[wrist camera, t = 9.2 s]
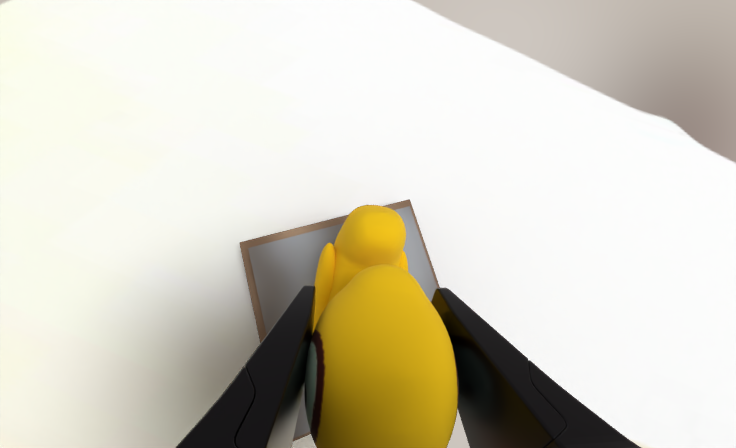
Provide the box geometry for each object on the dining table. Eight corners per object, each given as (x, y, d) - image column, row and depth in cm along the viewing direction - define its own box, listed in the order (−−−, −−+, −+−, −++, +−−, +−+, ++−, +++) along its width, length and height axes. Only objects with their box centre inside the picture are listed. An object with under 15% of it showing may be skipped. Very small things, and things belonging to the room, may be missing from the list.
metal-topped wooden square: (287, 425, 20) (275, 466, 15) (249, 247, 22) (229, 237, 18) (452, 359, 22) (482, 377, 18) (401, 207, 25) (417, 191, 21)
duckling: (395, 430, 15) (526, 702, 5) (297, 429, 14) (230, 743, 4) (403, 232, 17) (496, 163, 8) (322, 223, 17) (316, 135, 7)
